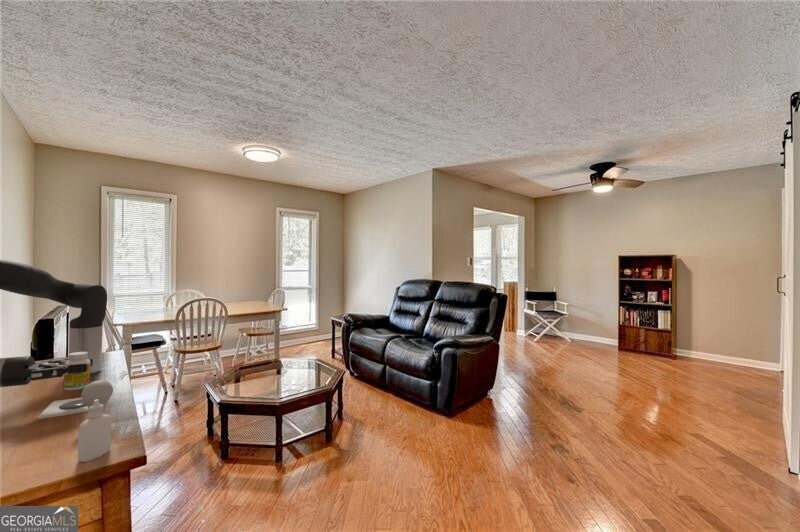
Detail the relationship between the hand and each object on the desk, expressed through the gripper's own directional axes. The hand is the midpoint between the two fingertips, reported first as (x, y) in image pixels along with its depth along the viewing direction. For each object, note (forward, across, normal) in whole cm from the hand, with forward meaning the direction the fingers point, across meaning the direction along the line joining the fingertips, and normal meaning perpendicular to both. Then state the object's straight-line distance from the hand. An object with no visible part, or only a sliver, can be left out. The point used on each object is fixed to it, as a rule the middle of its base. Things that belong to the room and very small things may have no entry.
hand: (89, 365), depth 99 cm
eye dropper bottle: (+8, -35, +12) cm, 38 cm away
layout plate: (-2, 0, +12) cm, 12 cm away
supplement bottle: (-3, 0, +6) cm, 7 cm away
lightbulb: (+5, -16, +12) cm, 20 cm away
